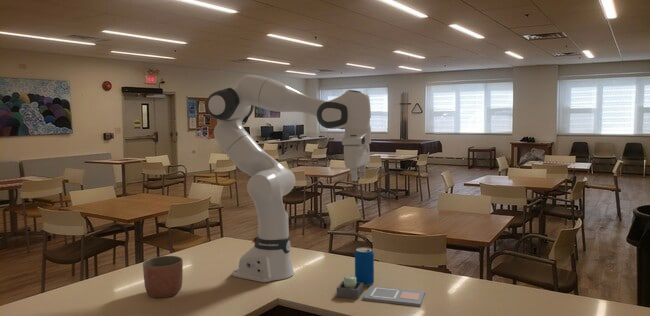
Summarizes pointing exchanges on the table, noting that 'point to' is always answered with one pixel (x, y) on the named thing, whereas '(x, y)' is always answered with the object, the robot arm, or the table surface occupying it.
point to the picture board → (394, 295)
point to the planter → (163, 275)
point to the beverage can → (364, 266)
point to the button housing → (350, 291)
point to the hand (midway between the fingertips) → (358, 179)
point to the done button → (350, 282)
